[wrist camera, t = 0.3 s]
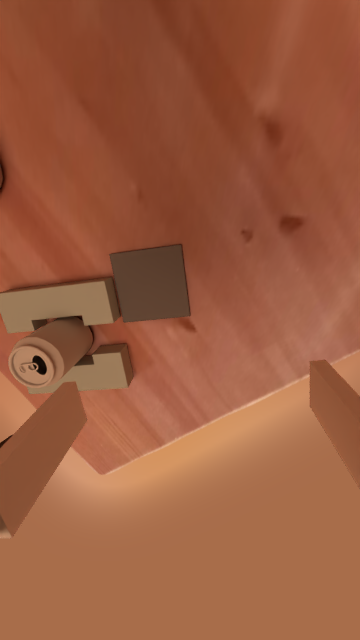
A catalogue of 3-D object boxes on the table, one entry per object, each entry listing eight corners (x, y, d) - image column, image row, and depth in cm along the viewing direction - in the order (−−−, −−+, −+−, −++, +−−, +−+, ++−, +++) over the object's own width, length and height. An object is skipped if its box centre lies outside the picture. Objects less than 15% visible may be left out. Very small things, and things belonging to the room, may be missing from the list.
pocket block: (10, 289, 44) (-7, 294, 40) (112, 277, 41) (104, 280, 38) (41, 383, 49) (29, 394, 46) (133, 376, 47) (128, 387, 43)
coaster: (110, 254, 40) (109, 254, 39) (181, 244, 39) (181, 244, 38) (124, 321, 43) (123, 322, 43) (190, 314, 42) (189, 316, 41)
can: (100, 351, 46) (65, 390, 34) (61, 356, 47) (15, 396, 35) (87, 310, 43) (45, 338, 32) (47, 317, 45) (-8, 346, 33)
